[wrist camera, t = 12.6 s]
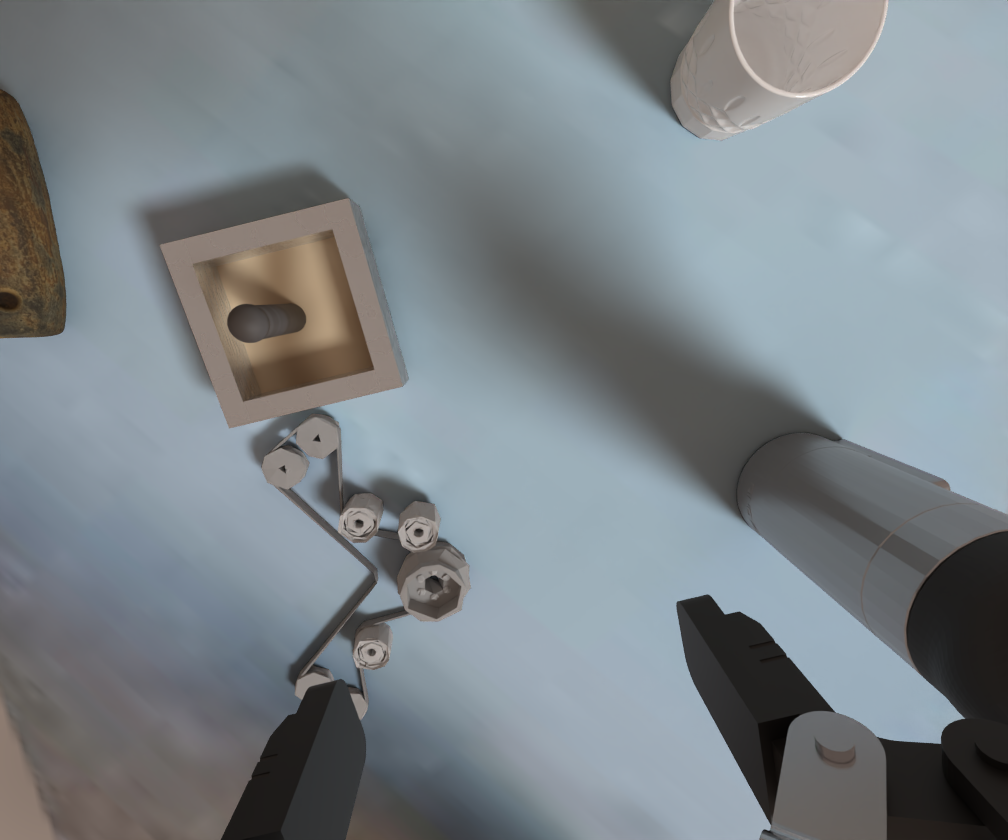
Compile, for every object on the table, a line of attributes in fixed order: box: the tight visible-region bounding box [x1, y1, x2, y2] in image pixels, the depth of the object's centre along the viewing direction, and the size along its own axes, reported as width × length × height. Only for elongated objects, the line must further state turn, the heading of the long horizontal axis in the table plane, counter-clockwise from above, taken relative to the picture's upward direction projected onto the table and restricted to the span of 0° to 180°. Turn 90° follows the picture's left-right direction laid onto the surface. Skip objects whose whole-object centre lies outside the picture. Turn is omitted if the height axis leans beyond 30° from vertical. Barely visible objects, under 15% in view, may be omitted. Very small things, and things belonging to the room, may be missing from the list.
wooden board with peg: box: [216, 237, 373, 393], centre depth 33 cm, size 12×12×9 cm
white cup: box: [670, 0, 888, 141], centre depth 30 cm, size 8×8×10 cm
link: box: [160, 198, 409, 428], centre depth 35 cm, size 12×12×3 cm
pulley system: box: [261, 414, 471, 720], centre depth 41 cm, size 27×5×15 cm
